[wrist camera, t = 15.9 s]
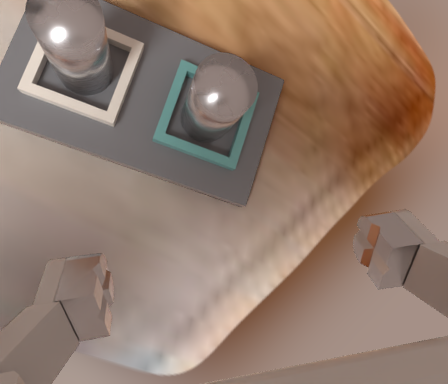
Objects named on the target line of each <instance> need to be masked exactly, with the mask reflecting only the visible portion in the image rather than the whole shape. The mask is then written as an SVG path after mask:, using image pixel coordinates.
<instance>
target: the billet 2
mask: <svg viewBox="0 0 448 384" xmlns="http://www.w3.org/2000/svg"><path fill="white" fill-rule="evenodd" d="M257 91H258V84H257V79H256V76H255V73H254V71H253V70H252V68H251V67H250V65H249V64H248V63H247V62H246V61H244V60H243V59H242V58H240V57H238V56H236V55H234V54H230V53H215V54H212V55H210V56H208V57H206V58H205V59H204V60H203V61H202V62H201V63H200V64H199V66H198V67H197V70H196V72H195V75H194V77H193V80H192V83H191V86H190V88H189V91H188V94H187V97H186V99H185V102H184V105H183V107H182V110H181V124H182V127H183V129H184V130H185V132H186V133H187V134H188V135H189V136H190V137H191V138H192V139H194V140H196V141H199V142H203V143H210V142H214V141H217V140H218V139H220V138H221V137H222V136H223V135H224V134H225V133H226V132H227V131H228V130H229V129H230V128H231V127H232V126H233V125H234V124H235V123H236V122H237V121H238V120H239V119H240V118H241V116H242V115H243V114H244V113H245V112H246V111H247V110H248V109H249V108H250V107H251V106H252V104H253V103H254V101H255V99H256V96H257Z"/></svg>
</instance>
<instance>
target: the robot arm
mask: <svg viewBox="0 0 448 384" xmlns="http://www.w3.org/2000/svg"><path fill="white" fill-rule="evenodd" d="M357 226H358V228H359V229H360V230H359V232H358V233H357V234H356V235H355V236H354V241H353V248H354V253H355V255H356V257H357V259H358V261H359V262H360V263H361V264H363V265H364V266H366V267H368V271H367V274H368V276H369V277H370V278H371V280H372V281H373V283H374V284H375V286H376V287H377V289H378V290H379V289H384V288H385V289H386V288H393V287H400V286H403V288H405V289H406V290H408V291H409V292H411V293H412V294H414V295H415V296H416V297H418V298H420V299H421V300H422V301H424V302H425V303H427V304H428V305H430V306H431V307H433V308H434V309H436V310H437V311H439V312H440V313H442V314H443V315H444V316H446V317H447V318H448V242H446V241H439V240H438V239H437V238H436V237H435V236H434V235H433V234H432V233H431V232H430V231H429V230H428V229H427V228H426V227H425V226H424V225H423V224H422V223H421V222H420V221H419V220H418V219H417V218H416V217H415V216H414V215H413V214H412V213H411V212H410V211H408V210H406V209H403V210H396V211H390V212H384V213H378V214H371V215H364V216H361V217H360V218H359V220H358V224H357ZM106 268H107V260H106V257H105V254H103V253H99V254H90V255H82V256H74V257H68V258H60V259H51V260H50V261H49V262H48V263H47V264H46V267H45V270H44V273H43V276H42V279H41V282H40V285H39V288H38V291H37V294H36V297H35V300H34V302H33V305H32V306H28V307H26V308H25V309H24V310H23V311H22V312H21V313H20V314H18V315H17V316H16V317H15V318H14V319H13V320H12V321H11V322H10V323H9V324H8V325H7V326H6V327H5V328H3V329H2V330H1V331H0V384H52V382H53V381H54V380H55V378H56V377H57V375H58V374H59V372H60V371H61V370H62V368H63V367H64V365H65V364H66V362H67V361H68V359H69V358H70V357H71V355H72V354H73V352H74V351H75V349H76V348H77V347H78V345H79V344H80V343H79V342H81V341H86V340H91V339H96V338H101V337H106V336H110V329H111V320H112V314H111V311H110V309H109V307H110V306H111V305H112V304H113V301H114V284H113V278H112V275H111V272H109V271H108V270H106ZM203 384H448V336H444V337H439V338H434V339H429V340H424V341H419V342H413V343H408V344H403V345H398V346H393V347H388V348H383V349H378V350H372V351H368V352H362V353H357V354H352V355H347V356H342V357H337V358H331V359H326V360H322V361H316V362H311V363H306V364H301V365H295V366H290V367H285V368H280V369H275V370H270V371H265V372H259V373H254V374H250V375H244V376H239V377H234V378H229V379H223V380H218V381H214V382H209V383H203Z"/></svg>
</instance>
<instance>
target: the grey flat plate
mask: <svg viewBox="0 0 448 384" xmlns="http://www.w3.org/2000/svg"><path fill="white" fill-rule="evenodd" d="M98 1H99V3H100V5H101V8H102V11H103V16H104V22H105V27H106V33H107V38H108V44H109V49H110V55H111V60H112V66H113V77H112V80H111V83H110V84H109V86H108V87H107V88H106V89H105V90H104V91H102V92H100V93H98V94H95V95H90V96H84V95H79V94H76V93H73V92H71V91H70V90H68V89H67V88H66V87H65V86H64V85H63V84H62V83H61V81H60V79H59V78H58V76H57V74H56V72H55V71H54V69H53V67H52V65H51V64H50V62H49V60H48V58H47V57H46V55H45V53H44V51H43V49H42V48H41V46H40V44H39V42H38V41H37V39H36V37H35V35H34V34H33V32H32V30H31V28H30V27H29V24H28V22H27V19H26V13H25V12H24V15H23V17H22V19H21V21H20V23H19V25H18V28H17V30H16V32H15V34H14V36H13V39H12V41H11V43H10V45H9V47H8V50H7V52H6V54H5V56H4V58H3V61H2V63H1V65H0V123H2V124H5V125H7V126H10V127H13V128H16V129H19V130H22V131H25V132H27V133H30V134H33V135H36V136H39V137H42V138H45V139H48V140H50V141H53V142H56V143H59V144H62V145H65V146H68V147H70V148H73V149H76V150H79V151H82V152H85V153H88V154H91V155H93V156H96V157H99V158H102V159H105V160H108V161H111V162H113V163H116V164H119V165H122V166H125V167H128V168H131V169H134V170H136V171H139V172H142V173H145V174H148V175H151V176H154V177H157V178H159V179H162V180H165V181H168V182H171V183H174V184H177V185H179V186H182V187H185V188H188V189H191V190H194V191H197V192H200V193H202V194H205V195H208V196H211V197H214V198H217V199H220V200H222V201H225V202H228V203H231V204H234V205H237V206H240V207H244V206H246V204H247V201H248V197H249V194H250V191H251V188H252V184H253V181H254V178H255V174H256V171H257V168H258V165H259V161H260V158H261V155H262V152H263V148H264V145H265V142H266V139H267V135H268V132H269V129H270V126H271V122H272V119H273V116H274V112H275V109H276V106H277V103H278V99H279V96H280V93H281V90H282V86H283V83H284V80H283V79H281V78H278V77H276V76H274V75H272V74H269V73H267V72H265V71H263V70H260V69H258V68H256V67H253V66H251V65H250V67H251V68H252V70H253V71H254V73H255V76H256V79H257V84H258V91H257V96H256V99H255V101H254V103H253V104H252V106H251V107H250V108H249V109H248V110H247V111H246V112H245V113H244V114H243V115H242V116H241V118H240V119H239V120H238V121H237V122H236V123H235V124H234V125H233V126H232V127H231V128H230V129H229V130H228V131H227V132H226V133H225V134H224V135H223V136H222V137H221V138H220V139H218V140H217V141H214V142H210V143H203V142H199V141H196V140H194V139H192V138H191V137H190V136H189V135H188V134H187V133H186V132H185V130H184V129H183V127H182V124H181V110H182V107H183V105H184V102H185V99H186V97H187V94H188V91H189V88H190V86H191V83H192V80H193V77H194V75H195V72H196V70H197V67H198V66H199V64H200V63H201V62H202V61H203V60H204V59H205V58H206V57H208V56H210V55H212V54H215V53H222V52H219V51H217V50H215V49H213V48H210V47H208V46H206V45H203V44H201V43H199V42H197V41H194V40H192V39H190V38H188V37H185V36H183V35H181V34H178V33H176V32H174V31H172V30H169V29H167V28H165V27H162V26H160V25H158V24H156V23H153V22H151V21H149V20H147V19H144V18H142V17H140V16H137V15H135V14H133V13H131V12H128V11H126V10H124V9H122V8H119V7H117V6H115V5H112V4H110V3H108V2H106V1H103V0H98Z"/></svg>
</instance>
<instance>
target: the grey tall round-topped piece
mask: <svg viewBox="0 0 448 384" xmlns="http://www.w3.org/2000/svg"><path fill="white" fill-rule="evenodd" d="M25 13H26V19H27V22H28V24H29V27H30V28H31V30H32V32H33V34H34V35H35V37H36V39H37V41H38V42H39V44H40V46H41V48H42V49H43V51H44V53H45V55H46V57H47V58H48V60H49V62H50V64H51V65H52V67H53V69H54V71H55V72H56V74H57V76H58V78H59V79H60V81H61V83H62V84H63V85H64V86H65V87H66V88H67V89H68V90H70V91H71V92H73V93H76V94H79V95H84V96H90V95H95V94H98V93H100V92H102V91H104V90H105V89H106V88H107V87H108V86H109V84H110V83H111V80H112V77H113V66H112V60H111V55H110V49H109V44H108V38H107V33H106V27H105V22H104V16H103V11H102V8H101V5H100V3H99V1H98V0H27V3H26V9H25Z"/></svg>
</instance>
